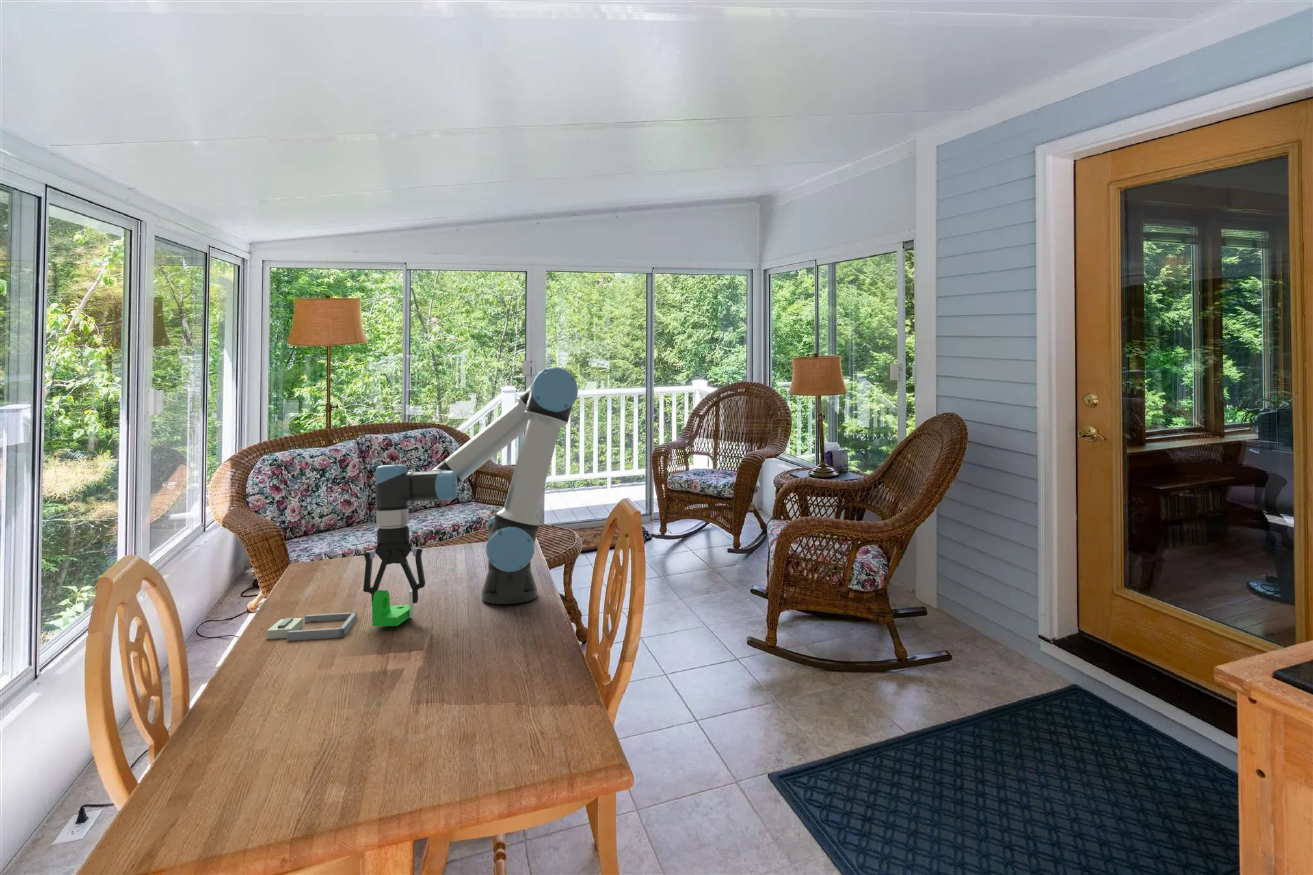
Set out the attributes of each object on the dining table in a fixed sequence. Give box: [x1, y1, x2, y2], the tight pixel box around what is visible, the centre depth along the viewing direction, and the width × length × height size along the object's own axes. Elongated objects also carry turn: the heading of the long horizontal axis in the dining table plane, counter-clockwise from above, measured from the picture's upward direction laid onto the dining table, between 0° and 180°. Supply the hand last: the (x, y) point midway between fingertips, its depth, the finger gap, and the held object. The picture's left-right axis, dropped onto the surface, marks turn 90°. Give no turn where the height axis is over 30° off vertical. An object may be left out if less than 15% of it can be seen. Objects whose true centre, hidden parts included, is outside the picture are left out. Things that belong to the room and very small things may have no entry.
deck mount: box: [266, 611, 358, 642], centre depth 161 cm, size 17×16×3 cm
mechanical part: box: [371, 589, 410, 627], centre depth 166 cm, size 12×6×8 cm, turn 179°
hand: (395, 617), depth 167 cm, fingers closed on mechanical part, 7 cm apart
